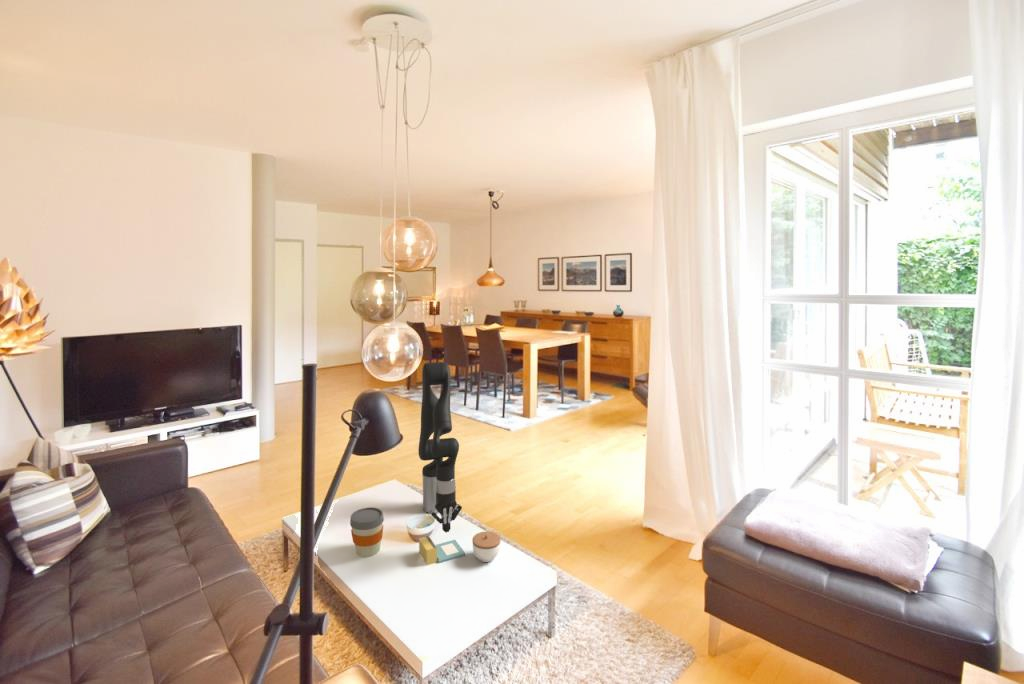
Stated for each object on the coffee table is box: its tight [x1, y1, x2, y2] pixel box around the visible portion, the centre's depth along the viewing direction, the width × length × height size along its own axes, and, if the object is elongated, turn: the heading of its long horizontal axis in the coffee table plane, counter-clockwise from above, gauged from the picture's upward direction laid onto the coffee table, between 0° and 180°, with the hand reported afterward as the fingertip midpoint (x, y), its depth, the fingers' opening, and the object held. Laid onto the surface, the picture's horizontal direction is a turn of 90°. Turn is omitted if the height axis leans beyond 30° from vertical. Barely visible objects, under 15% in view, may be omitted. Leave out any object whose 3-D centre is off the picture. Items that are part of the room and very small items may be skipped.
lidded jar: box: [471, 531, 501, 563], centre depth 187 cm, size 11×11×9 cm
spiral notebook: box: [435, 539, 467, 564], centre depth 191 cm, size 11×11×1 cm
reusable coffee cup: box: [349, 507, 385, 558], centre depth 190 cm, size 13×13×15 cm
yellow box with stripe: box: [418, 535, 438, 566], centre depth 187 cm, size 9×4×6 cm, turn 29°
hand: (446, 531), depth 189 cm, fingers closed
